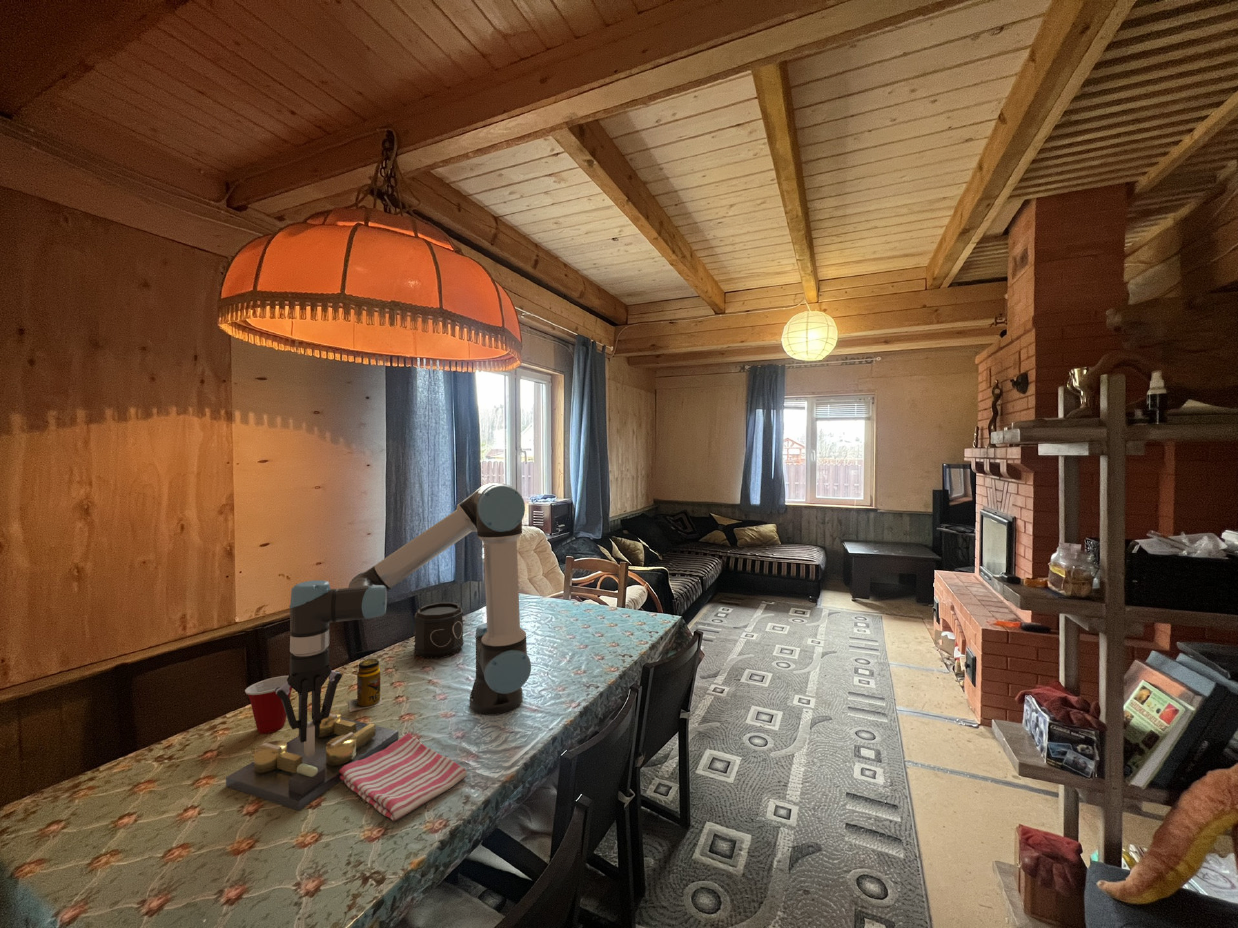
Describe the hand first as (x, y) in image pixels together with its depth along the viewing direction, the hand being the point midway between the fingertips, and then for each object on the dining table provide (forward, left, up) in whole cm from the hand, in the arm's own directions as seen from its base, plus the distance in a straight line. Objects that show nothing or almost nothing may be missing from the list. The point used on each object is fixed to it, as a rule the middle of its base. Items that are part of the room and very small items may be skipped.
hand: (309, 753), depth 107 cm
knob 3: (-6, -6, -2) cm, 9 cm away
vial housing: (-7, +6, -2) cm, 9 cm away
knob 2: (+4, -10, -2) cm, 11 cm away
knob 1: (+4, +4, -2) cm, 6 cm away
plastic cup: (+26, -9, -4) cm, 28 cm away
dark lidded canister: (+19, -66, -4) cm, 69 cm away
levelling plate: (+1, -3, -4) cm, 5 cm away
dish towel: (-23, -4, -4) cm, 24 cm away
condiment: (+13, -27, -4) cm, 30 cm away
